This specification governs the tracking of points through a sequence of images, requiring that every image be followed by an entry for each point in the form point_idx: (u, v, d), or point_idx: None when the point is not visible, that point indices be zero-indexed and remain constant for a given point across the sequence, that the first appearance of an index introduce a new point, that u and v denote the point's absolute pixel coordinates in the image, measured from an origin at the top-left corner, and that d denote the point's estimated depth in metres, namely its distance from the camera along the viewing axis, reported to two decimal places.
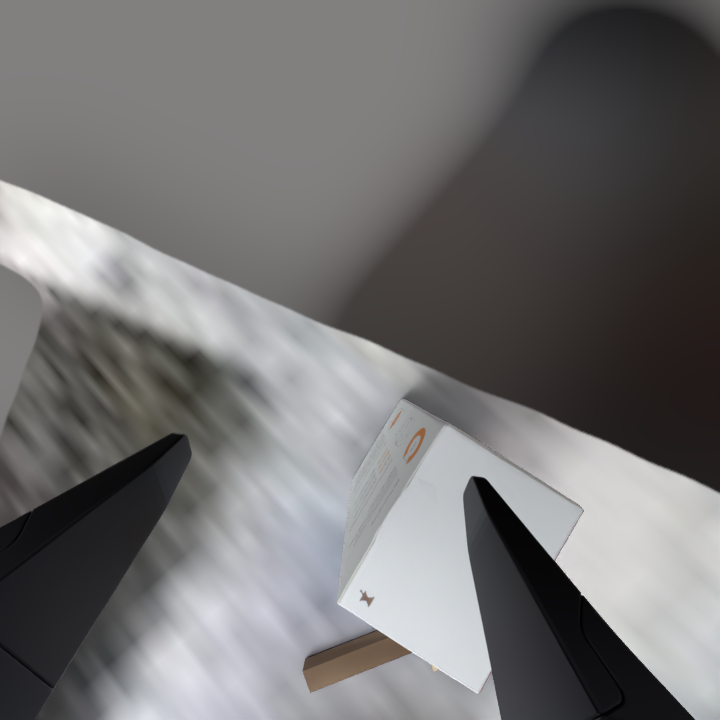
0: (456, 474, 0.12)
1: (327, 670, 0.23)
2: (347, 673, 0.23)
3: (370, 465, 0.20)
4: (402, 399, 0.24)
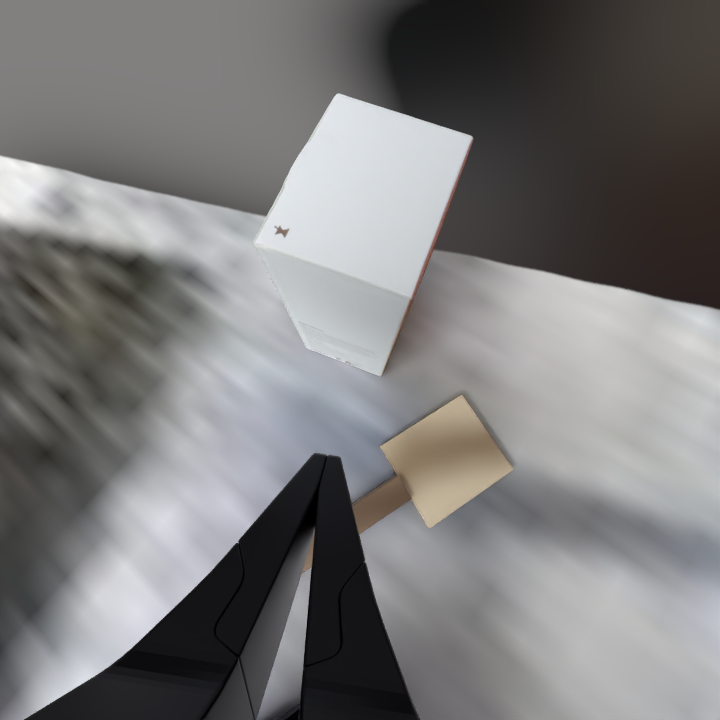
0: (352, 124, 0.12)
1: None
2: None
3: None
4: None
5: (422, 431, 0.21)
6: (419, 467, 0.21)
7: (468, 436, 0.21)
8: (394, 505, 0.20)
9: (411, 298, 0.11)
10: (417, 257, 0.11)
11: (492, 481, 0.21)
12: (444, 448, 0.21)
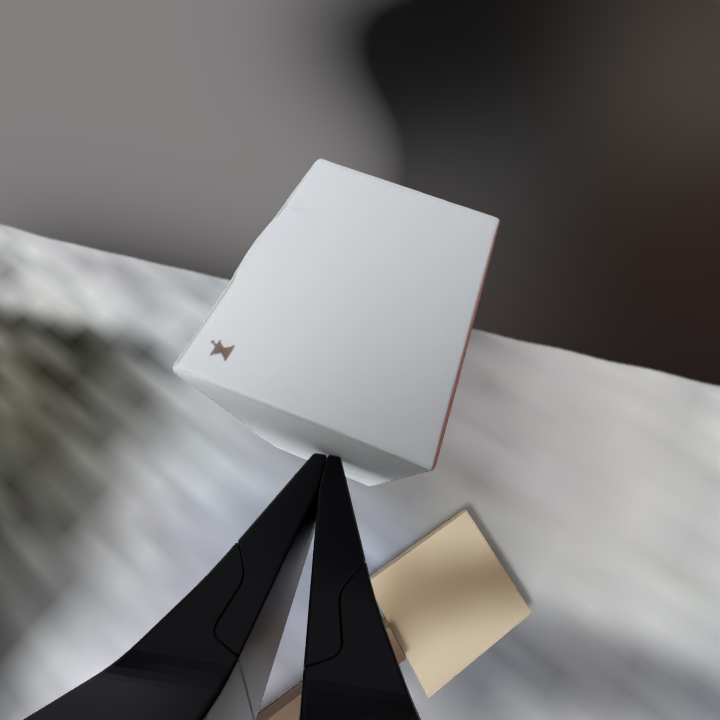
0: (337, 197, 0.09)
1: None
2: None
3: None
4: None
5: (418, 560, 0.17)
6: (415, 611, 0.17)
7: (475, 567, 0.17)
8: None
9: (431, 469, 0.06)
10: (437, 396, 0.07)
11: (506, 629, 0.17)
12: (446, 584, 0.17)
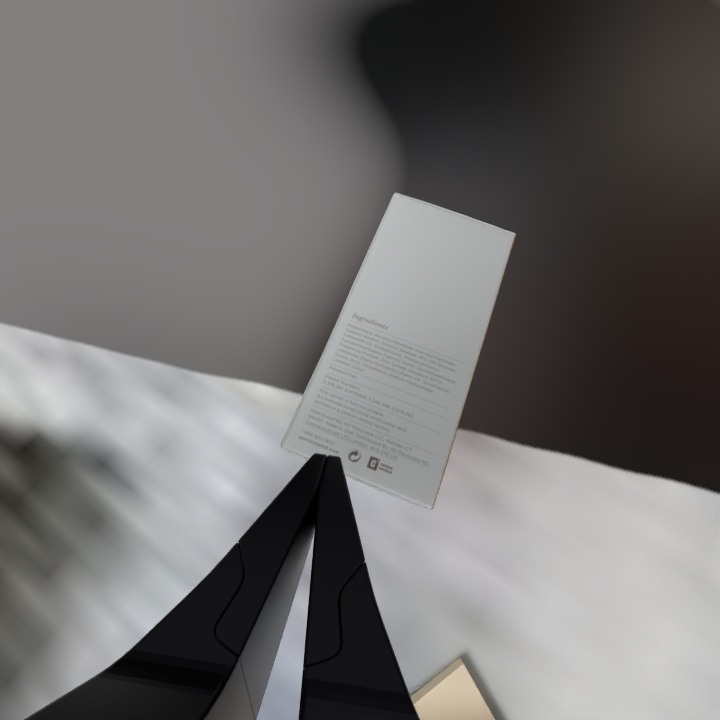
0: None
1: None
2: None
3: None
4: None
5: None
6: None
7: None
8: None
9: (515, 234, 0.14)
10: None
11: None
12: None
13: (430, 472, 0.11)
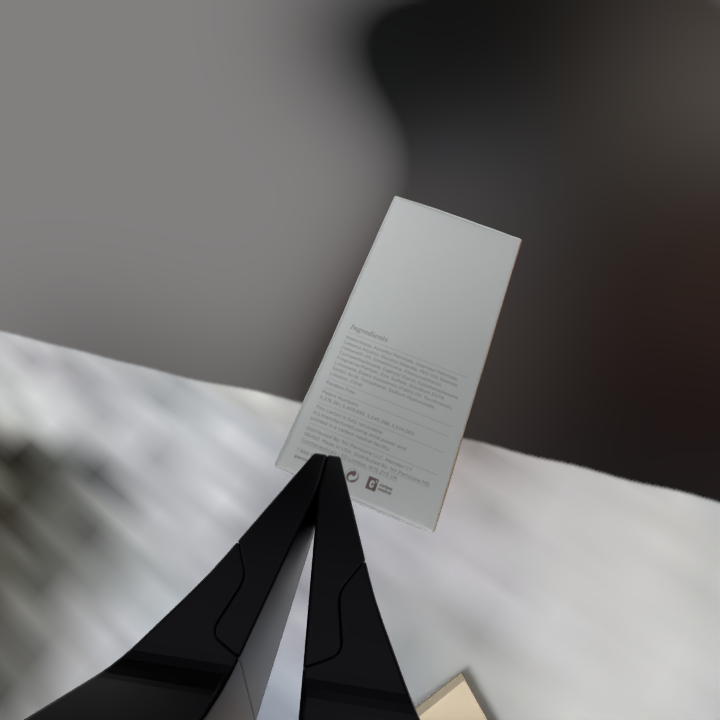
0: None
1: None
2: None
3: None
4: None
5: None
6: None
7: None
8: None
9: (521, 240, 0.14)
10: None
11: None
12: None
13: (431, 493, 0.11)
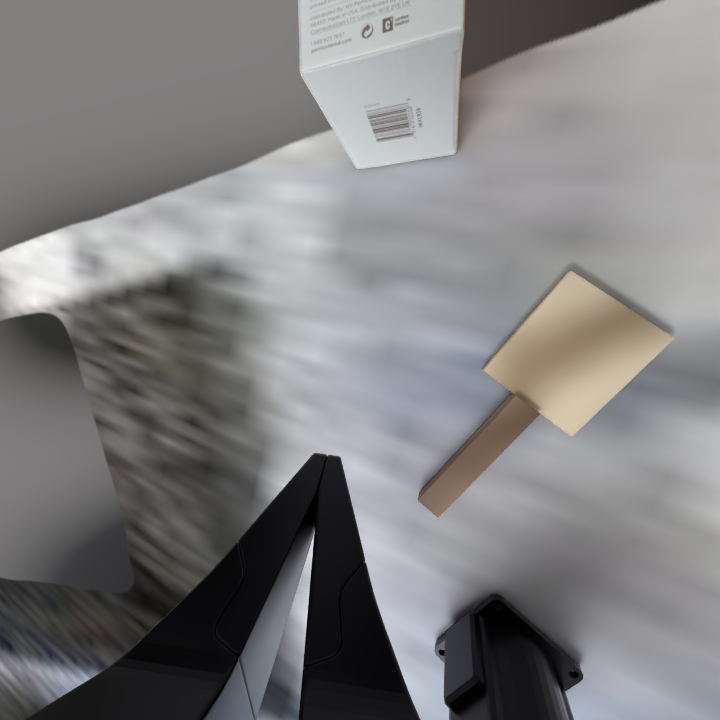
0: None
1: (442, 488, 0.19)
2: (465, 481, 0.19)
3: None
4: None
5: (528, 336, 0.17)
6: (538, 377, 0.17)
7: (595, 320, 0.16)
8: (521, 426, 0.18)
9: None
10: None
11: (644, 362, 0.16)
12: (565, 345, 0.17)
13: None
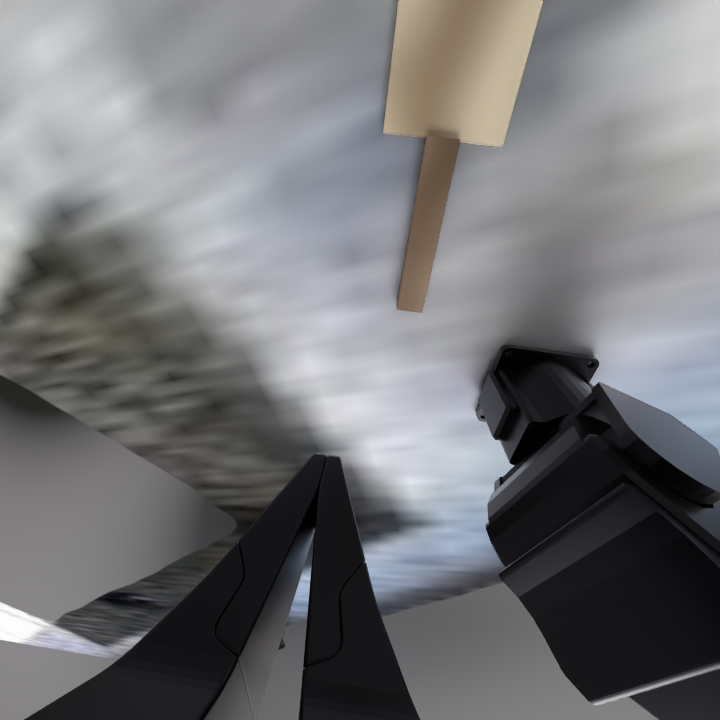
0: None
1: (411, 283, 0.19)
2: (427, 262, 0.18)
3: None
4: None
5: (406, 50, 0.14)
6: (440, 97, 0.15)
7: None
8: (449, 167, 0.16)
9: None
10: None
11: None
12: (449, 33, 0.13)
13: None
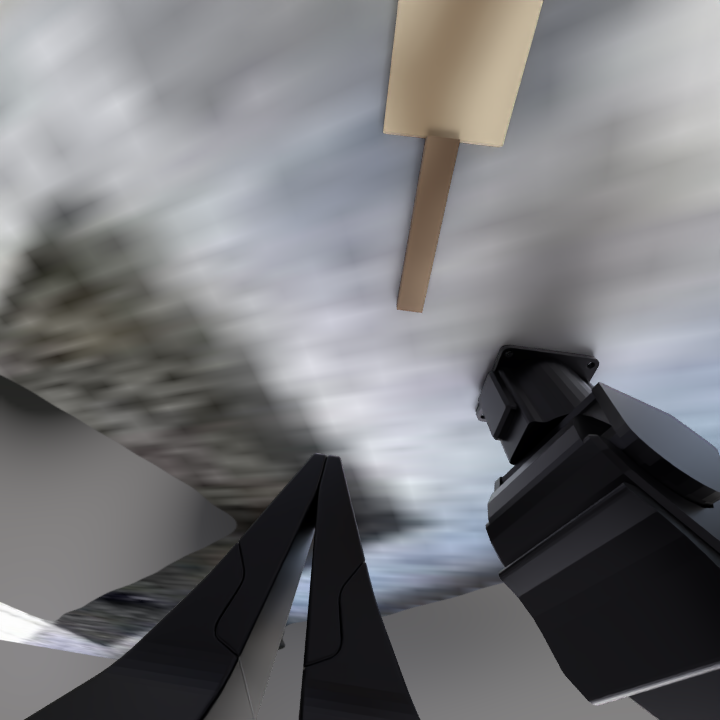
0: None
1: (411, 283, 0.19)
2: (427, 262, 0.18)
3: None
4: None
5: (406, 50, 0.14)
6: (440, 97, 0.15)
7: None
8: (449, 167, 0.16)
9: None
10: None
11: None
12: (449, 33, 0.13)
13: None
